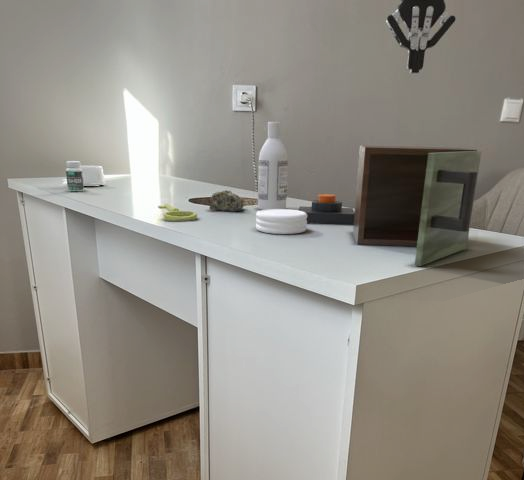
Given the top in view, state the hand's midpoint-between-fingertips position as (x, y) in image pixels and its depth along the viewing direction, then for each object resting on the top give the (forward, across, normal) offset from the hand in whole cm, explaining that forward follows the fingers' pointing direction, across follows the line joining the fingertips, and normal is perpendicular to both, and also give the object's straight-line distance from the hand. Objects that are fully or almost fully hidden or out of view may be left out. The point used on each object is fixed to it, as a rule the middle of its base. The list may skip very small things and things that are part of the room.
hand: (414, 72), depth 106 cm
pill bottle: (+29, -89, +47) cm, 105 cm away
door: (+29, +5, -32) cm, 43 cm away
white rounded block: (+29, -92, +64) cm, 116 cm away
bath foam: (+29, -28, +20) cm, 45 cm away
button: (+25, -15, +5) cm, 30 cm away
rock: (+29, -38, +16) cm, 51 cm away
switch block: (+29, -15, +5) cm, 33 cm away
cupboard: (+29, -1, -16) cm, 33 cm away
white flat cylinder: (+29, -24, -10) cm, 39 cm away
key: (+29, -48, +2) cm, 56 cm away
